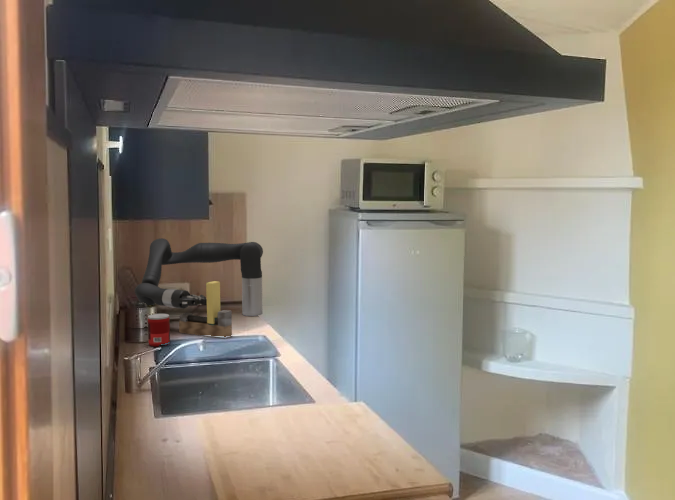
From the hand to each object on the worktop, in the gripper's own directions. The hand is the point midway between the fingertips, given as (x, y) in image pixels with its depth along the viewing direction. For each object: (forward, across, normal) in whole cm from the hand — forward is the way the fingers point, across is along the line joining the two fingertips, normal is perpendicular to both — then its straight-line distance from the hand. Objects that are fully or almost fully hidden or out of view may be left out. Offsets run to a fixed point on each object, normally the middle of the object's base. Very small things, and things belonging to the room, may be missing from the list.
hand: (210, 302), depth 264 cm
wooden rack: (-3, 0, -13) cm, 14 cm away
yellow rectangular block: (+2, 0, -8) cm, 8 cm away
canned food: (-9, +20, -14) cm, 26 cm away
